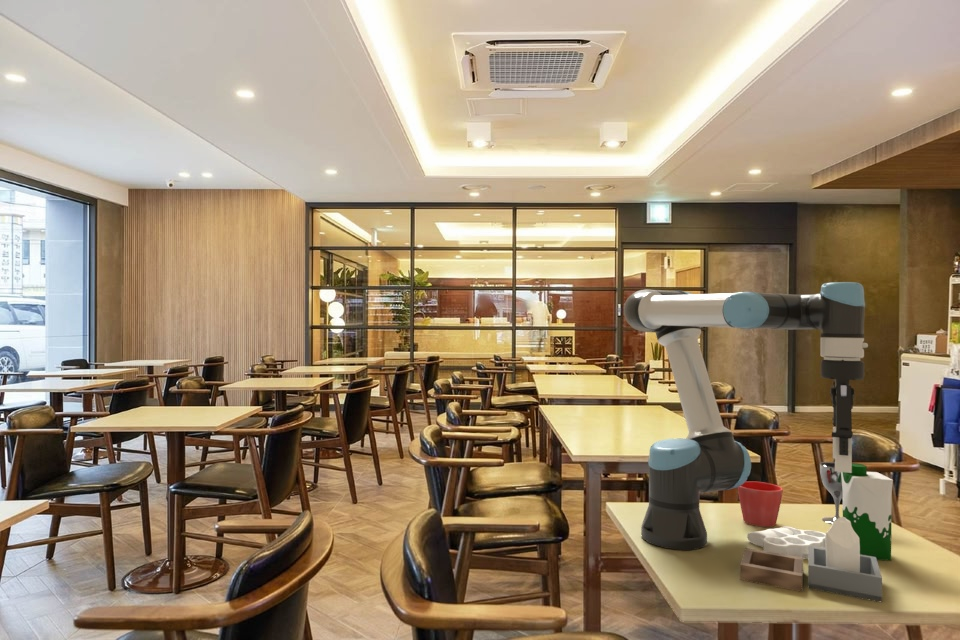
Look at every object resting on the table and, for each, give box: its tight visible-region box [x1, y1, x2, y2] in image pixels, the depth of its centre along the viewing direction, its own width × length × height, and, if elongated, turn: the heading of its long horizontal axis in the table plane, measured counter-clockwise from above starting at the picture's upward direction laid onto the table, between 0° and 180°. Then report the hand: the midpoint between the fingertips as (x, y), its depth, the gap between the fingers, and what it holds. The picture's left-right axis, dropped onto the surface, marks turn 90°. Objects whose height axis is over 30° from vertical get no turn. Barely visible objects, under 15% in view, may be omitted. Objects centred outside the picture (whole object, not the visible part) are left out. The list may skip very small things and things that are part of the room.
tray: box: [807, 546, 883, 602], centre depth 118 cm, size 12×12×4 cm
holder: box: [739, 547, 804, 593], centre depth 122 cm, size 11×11×3 cm
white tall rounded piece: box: [825, 516, 860, 572], centre depth 119 cm, size 6×12×6 cm
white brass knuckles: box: [746, 525, 826, 560], centre depth 138 cm, size 3×18×15 cm
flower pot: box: [736, 480, 784, 528], centre depth 156 cm, size 11×11×10 cm
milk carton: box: [841, 462, 894, 562], centre depth 135 cm, size 9×9×20 cm
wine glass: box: [819, 461, 843, 525], centre depth 158 cm, size 8×8×15 cm
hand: (841, 465), depth 119 cm, fingers open, 13 cm apart
